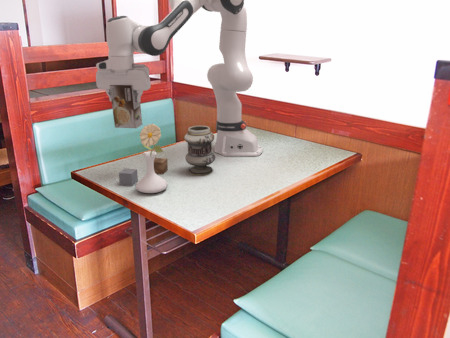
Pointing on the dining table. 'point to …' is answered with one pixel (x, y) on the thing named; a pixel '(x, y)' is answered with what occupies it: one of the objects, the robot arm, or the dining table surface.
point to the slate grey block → (128, 177)
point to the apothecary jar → (199, 149)
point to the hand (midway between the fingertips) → (125, 101)
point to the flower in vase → (151, 161)
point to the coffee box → (125, 106)
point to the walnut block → (160, 165)
